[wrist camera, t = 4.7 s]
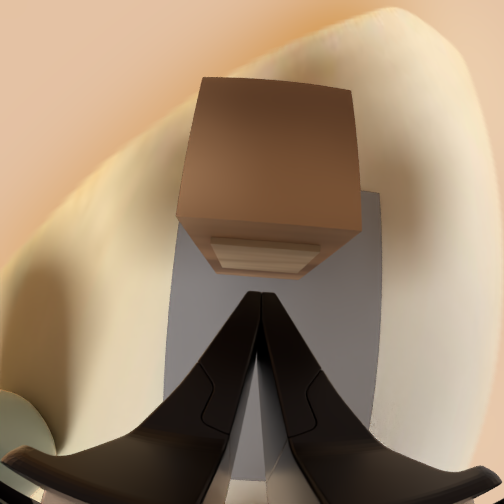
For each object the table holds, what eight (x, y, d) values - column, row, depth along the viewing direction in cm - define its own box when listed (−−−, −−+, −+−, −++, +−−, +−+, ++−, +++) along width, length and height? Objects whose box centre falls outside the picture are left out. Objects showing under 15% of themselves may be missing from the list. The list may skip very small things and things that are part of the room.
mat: (357, 474, 15) (359, 476, 15) (164, 466, 15) (162, 469, 15) (377, 195, 19) (379, 193, 18) (187, 178, 19) (186, 175, 18)
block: (298, 283, 17) (362, 238, 7) (216, 277, 17) (174, 224, 7) (301, 203, 18) (351, 90, 8) (224, 196, 18) (202, 77, 8)
